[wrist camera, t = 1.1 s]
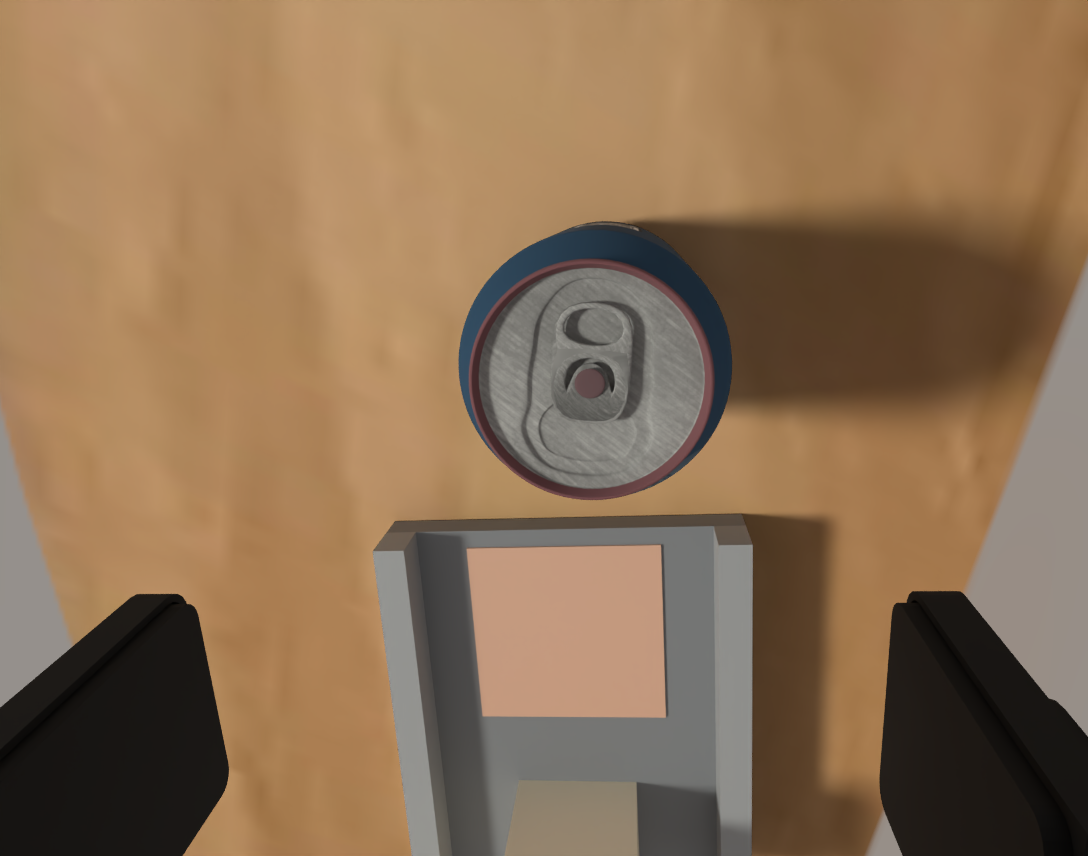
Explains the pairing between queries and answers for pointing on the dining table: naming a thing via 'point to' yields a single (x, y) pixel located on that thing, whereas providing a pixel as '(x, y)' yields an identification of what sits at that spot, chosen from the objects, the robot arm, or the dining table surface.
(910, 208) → the dining table surface
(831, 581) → the dining table surface
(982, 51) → the dining table surface
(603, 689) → the rail board
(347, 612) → the dining table surface
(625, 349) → the soda can
